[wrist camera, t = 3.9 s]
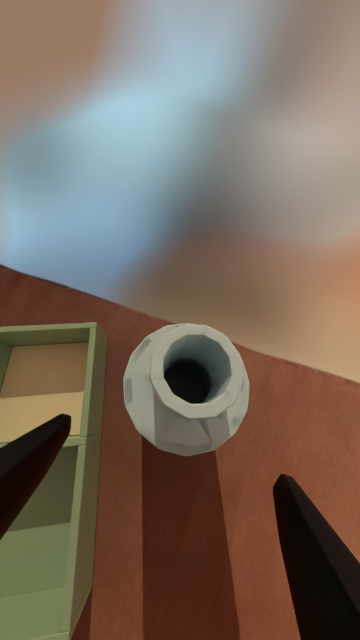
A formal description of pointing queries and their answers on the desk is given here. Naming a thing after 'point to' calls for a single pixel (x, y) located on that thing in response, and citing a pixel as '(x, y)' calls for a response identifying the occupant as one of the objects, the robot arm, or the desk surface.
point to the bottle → (186, 389)
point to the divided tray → (52, 476)
